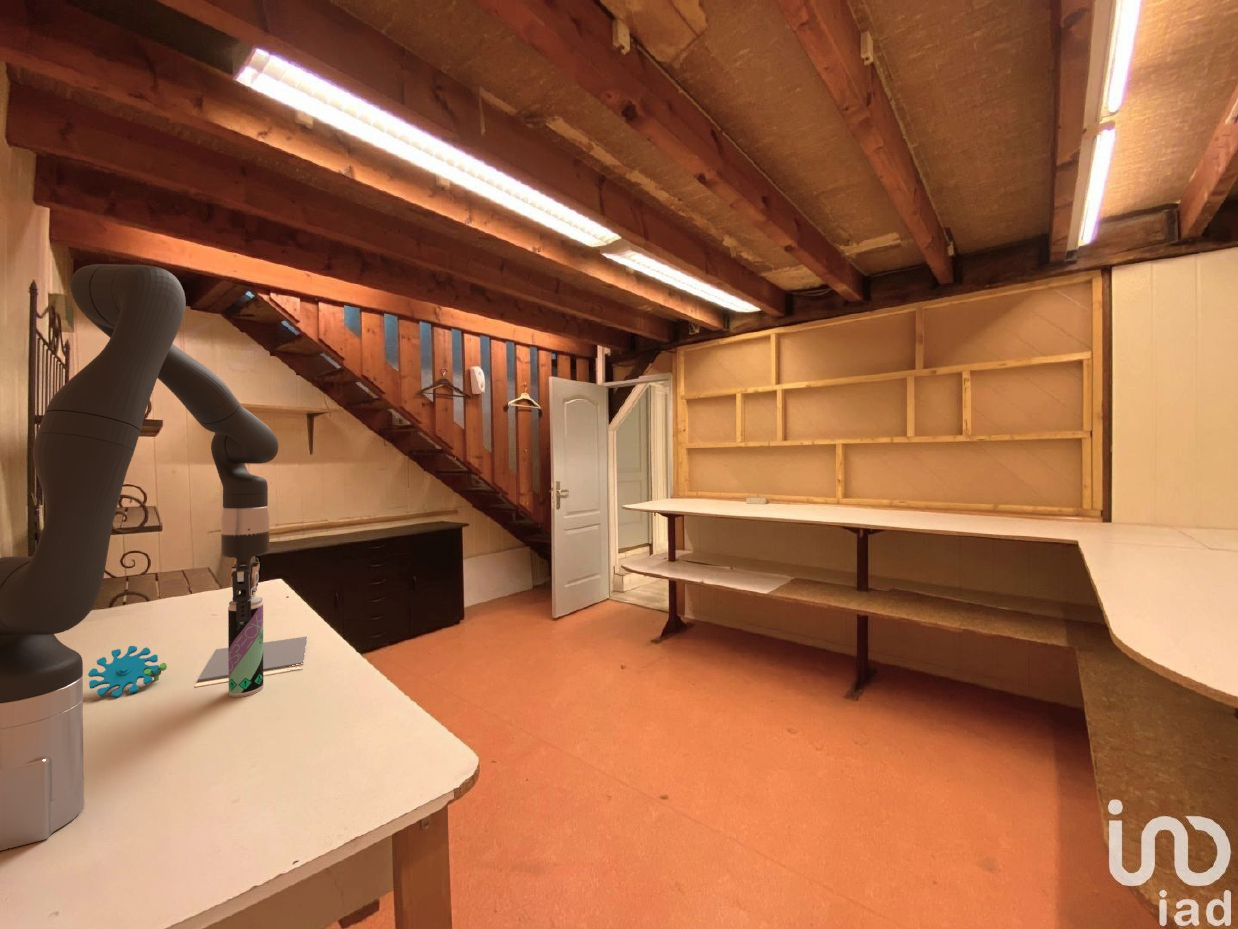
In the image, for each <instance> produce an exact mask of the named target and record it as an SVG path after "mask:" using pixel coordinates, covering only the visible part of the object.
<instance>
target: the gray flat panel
mask: <svg viewBox="0 0 1238 929" xmlns="http://www.w3.org/2000/svg"><path fill="white" fill-rule="evenodd" d="M306 639H307V640H308V637H307V636H299V637H294V638H287V639H286V638H285V639H278V640H272V641H265V642H264V641H263V677H265V676H264V675H266V676H271V675H277V674H283V673H282V672H284V673H287V672H286V671H290V670H287V669H301V668H299V666H292V665H296V664H301V663H303V664H304V662H303V660H304V661H305V655H304V653H306V648H305V646H306V645H307V640H306ZM306 647H307V646H306ZM289 666H292V667H289ZM285 667H286V668H285ZM295 667H297V668H295ZM273 669H274V670H273ZM290 672H291V671H290ZM225 683H229V666H228V647H224V648H216V649H215V650H214V652H213V654H212V655H211V657H210V659H209V660H208V662H207V664H206V665H205V667H204V669H203V670H202V672H201V674H200V675H199V677H198V679H197V683H196V684H195V686H194V688H201V687H206V686H212V685H217V684H225Z"/></svg>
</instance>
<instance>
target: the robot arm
mask: <svg viewBox="0 0 1238 929" xmlns="http://www.w3.org/2000/svg"><path fill="white" fill-rule="evenodd" d="M69 285H70V293H71V296H72V299H73V301H74V303H75V305H76V306H77V307H78V309H79V310H80V312H82V314H83V315H84V316H85V317H86V319H88V320H89V321H90V322H91V323H92V324H94V325H95V326H96V327H97V328H98V329H99V330H101V332H103V333H104V334H105V335H106V336H107V337H108V338H109V339H108V342H107V343H106V344H105V347H103V349H102V350H101V351H100V352H99V354H97V355H96V356H95V357H94V358H93V359H92V360H91V361H90V362H89V363H88V364H86V365H85V366H84V367H83V368H82V369H81V370H80V371H78V372H77V373H76V374H75V375H73V376H72V377H71V378H70V379H69V380H68V381H67V382H66V383H64V384H63V386H61V388H60V389H59V390H58V391H57V392H55V394H54V395H53V397H51V399H50V401H49V403H48V405H47V407H46V409H45V411H44V414H43V417H42V419H41V422H40V425H39V427H38V430H37V433H36V435H35V438H34V443H33V447H32V456H33V457H32V458H33V463H34V464H33V465H34V468H35V472H36V476H37V479H38V482H39V485H40V487H41V488H40V489H41V491H42V494H43V498H44V502H45V518H44V523H43V528H42V531H41V533H40V537H39V540H38V543H37V546H36V548H35V551H34V552H33V555H32V556H25V555H23V556H20V555H19V556H16V555H15V556H4V557H2V556H1V557H0V851H4V850H8V848H9V849H11V848H15V847H21V846H24V845H27V844H32V843H36V842H40V841H43V840H46V839H49V838H50V836H51V835H52V834H53V833H54V832H55V831H58V830H59V829H60V828H62V827H64V826H65V825H67V824H68V823H70V822H72V821H73V820H74V819H75V818H76V817H77V816H79V814H81V812H82V811H83V809H84V806H85V788H84V787H85V783H84V781H85V778H84V777H85V776H84V774H85V773H84V771H85V770H84V768H85V767H84V710H83V709H84V703H83V702H84V701H83V700H84V677H83V673H84V665H83V663H84V661H83V657H82V655H81V654H80V653H79V652H77V651H76V650H74V649H72V648H71V647H68V646H67V645H65V644H64V643H62V642H61V641H60V639H58V638H57V637H56V635H55V634H61V633H64V632H66V631H69V630H71V629H72V628H75V627H76V626H77V625H79V624H80V623H81V622H82V621H83V620H85V619H86V617H87V616H88V615H89V614H90V613H91V611H92V610H93V608H94V606H95V605H96V602H97V601H98V599H99V596H100V593H101V589H102V586H103V583H104V582H103V581H104V576H105V572H106V568H107V567H106V566H107V561H108V560H107V559H108V553H109V549H110V548H109V547H110V541H111V535H112V531H113V530H112V529H113V525H114V522H115V516H116V512H117V508H118V505H119V502H120V499H121V494H122V492H123V491H122V490H123V486H124V482H125V480H126V477H127V473H128V469H129V466H130V464H131V463H132V462H131V461H132V459H133V456H134V453H135V451H136V447H137V443H138V440H139V437H140V434H141V430H142V427H143V424H144V419H145V415H146V412H147V409H148V406H149V403H150V400H151V397H152V394H153V391H154V388H155V387H156V386H155V385H156V382H157V380H159V381H160V382H161V383H162V384H163V385H164V386H166V387H167V389H168V390H170V391H171V393H173V395H174V396H175V397H176V399H178V400H179V401H180V403H181V404H183V406H184V408H186V410H187V411H188V412H189V413H190V414H191V416H192V417H193V418H194V419H195V420H196V421H197V422H198V424H200V426H202V427H203V429H205V430H206V431H208V432H213V433H215V434H214V435H213V437H212V440H211V443H210V444H211V445H210V449H211V450H210V451H211V455H212V459H213V462H214V464H215V467H216V470H217V473H218V478H219V479H220V482H221V486H222V513H221V519H220V520H221V522H220V525H221V526H220V528H221V530H220V532H221V534H220V539H221V541H220V542H221V544H220V546H221V547H220V548H221V549H220V551H221V556H222V557H224V558H227V559H228V558H229V559H230V558H231V559H232V558H234V559H236V561H235V563H234V564H233V565H234V566H231V577H232V578H231V579H232V580H231V581H232V583H231V584H232V586H231V587H232V600H231V601H233V602H235V603H236V621H237V622H247V621H250V619H251V599H252V592H253V593H254V594H255V595H256V593H257V591H258V586H259V580H260V579H259V578H260V575H259V571H260V568H261V567H260V561H259V556H262V555H265V554H268V553H269V551H270V515H269V513H270V512H269V507H268V506H269V503H268V502H269V501H268V500H269V493H268V492H269V490H268V489H269V488H268V481H267V480H266V479H265V478H264V477H262V476H259V475H254V474H252V473H250V472H249V471H248V469H247V466H246V464H257V465H259V464H268V463H269V462H271V461H273V459H275V458H276V457H277V455H278V452H279V442H278V438H277V437H276V435H275V433H274V432H273V430H272V429H271V428H270V427H269V426H268V425H267V424H266V423H265V422H263V421H262V420H261V419H260V418H258V417H257V416H255V415H254V414H253V413H252V412H251V411H249V409H246V408H245V407H244V406H242V404H241V403H240V401H239V400H238V399H237V397H236V396H235V395H234V393H233V392H232V390H231V389H230V388H229V387H228V385H227V384H226V383H225V381H224V380H223V379H221V377H219V375H217V374H216V373H215V371H212V369H210V368H209V367H207V366H205V365H204V364H202V363H201V362H199V361H198V360H197V359H195V358H193V357H192V356H191V355H190V354H188V353H186V352H185V351H183V350H182V349H181V348H179V347H178V346H176V345H175V343H174V341H175V339H176V337H177V335H178V332H179V330H180V328H181V326H182V323H183V321H184V318H185V314H186V312H185V311H186V305H187V304H186V303H187V302H186V301H187V300H186V296H185V295H186V294H185V290H184V289H183V286H182V284H181V282H180V281H179V280H178V278H177V277H176V276H175V275H173V273H172V272H170V271H168V270H167V269H164V268H161V267H158V266H153V265H146V264H118V263H117V264H115V263H114V264H112V263H111V264H109V263H108V264H106V263H102V264H99V263H98V264H97V263H96V264H90V265H84V266H82V267H80V268H79V269H77V270H75V272H74V273H73V275H72V277H71V280H70V284H69ZM241 590H246V594H242V595H239V594H240V593H241Z"/></svg>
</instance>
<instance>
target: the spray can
mask: <svg viewBox="0 0 1238 929" xmlns="http://www.w3.org/2000/svg"><path fill="white" fill-rule="evenodd" d="M242 594H246V590H241V592H239V595H242ZM263 600H264V599H263V597H259V596H257V595H256V593H255V594H254V593H253V592H252V599H251V619H250V621H247V622H237V621H236V603H235V602H233V600H230V601H229V602H228V605H229V606H228V608H227V609H228V610H227V612H228V613H227V614H228V616H227V619H228V621H227V622H228V625H227V626H228V627H227V628H228V629H227V630H228V634H227V636H228V638H227V640H228V647H227V648H228V666H229V677H228V678H229V682H228V695H229V697H232V698H241V697H242V698H243V697H248V696H251V695H254V694H256V693H258V692H260V691H261V690H263V688H264V676H263V672H264V671H263V643H264V601H263Z"/></svg>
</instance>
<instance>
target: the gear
mask: <svg viewBox="0 0 1238 929" xmlns="http://www.w3.org/2000/svg"><path fill="white" fill-rule="evenodd" d="M137 651H138V646H135V645H129V646H128V648H127V651H126V653H125V654H124V655H123V656H122V657H119V656H120V655H121V654H122V651H121V649H119V648H117V649H114V650H111V652H110V653H111V656H112V658H113V660H112V662H110V663H107V658H106V657H105V656H102V657H101V658H98V659H97V660H96V665H98V666H101V667H103V668H104V669H105V670H104V671H101V672H99V670H98V669H97V668H95V667H94V668H92V669H90V670H89V671H88V673H87V676H88V677H89V678H94V677H100V678H103V679H102V680H97V679H91V680H89V682H88V685H89V689H96V688H97V687H99V686H102V685H108V686H106V687H100V688H97V690H96V692H97V694H98V695H99V696H100V697H104V696H105V695H106V694H107V693H108V692H109V691H110V690H112V689H114V688H116V687H119V688H117V689H114V691H112V692H111V697H113V698H121V697H122V695H123V694H122V693H123V691H124V689H125V688H126V687H127V686H129V685H131V686H129V689H128V693H129V694H134V693H138V692H139V686H138V684H137V683H138V680H139V679H142V682H143V685H145V686H147V685H148V684H150V683H152V682H153V681H158V680H159V679H160V676H161V674H162V671H163V672H164V671H166V670H167V668H168V666H167V663H166V662H162V663H160V664H154V663H157V662H159V659H158V658H159V657H158V654H153V655H151V656H148V655H150V654H151V652H152V651H151V649H150V648H149V647H147V646H146V647H144V648H142V650H141V651H140V652H139V653H136V652H137ZM134 653H136V654H134ZM132 654H134V655H132ZM143 656H148V657H143ZM141 657H143V658H141ZM147 662H150V663H153V664H154V665H149V664H146V663H147Z"/></svg>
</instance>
